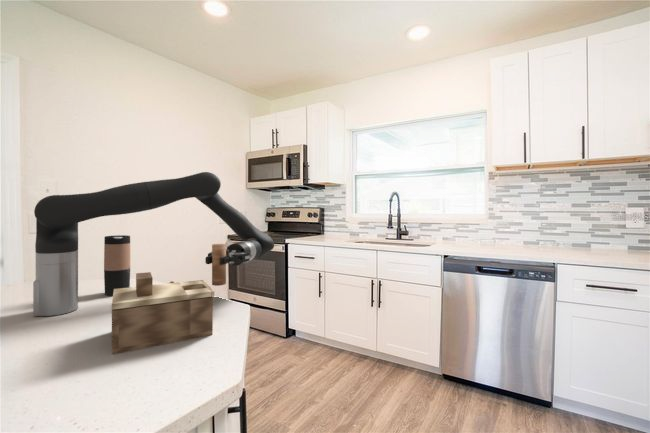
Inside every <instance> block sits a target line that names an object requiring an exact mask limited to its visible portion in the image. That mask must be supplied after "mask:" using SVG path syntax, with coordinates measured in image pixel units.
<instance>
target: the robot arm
mask: <svg viewBox="0 0 650 433" xmlns="http://www.w3.org/2000/svg"><path fill="white" fill-rule="evenodd" d="M220 189H221V180H220V178H219V177H218V176H217V175H216V174H215V173H212V172H209V171H202V172H198V173H194V174H192V175H191V174H190V175H186V176H183V177H178V178H169V179H168V178H167V179H159V180H150V181H141V182H134V183H128V184H123V185H119V186H114V187H110V188H106V189H103V190H100V191H99V190H98V191H95V192H87V193H78V194H77V193H75V194H53V195H48V196H45V197H42V198H41V199H40V200H39V201H38V202H37V203H36V205H35V207H34V211H33V213H34V217H35V219H36V222H35V223H36V224H35V225H36V227H35V230H36V231H35V232H36V234H35V235H36V236H35V243H34V244H35V246H34V247H35V280H34V281H33V286H32V287H33V288H32V290H33V291H32V292H33V293H32V295H33V296H32V298H33V300H32V301H33V302H32V303H33V304H32V307H33V308H32V310H33V313H32V314H33V315H32V317H49V316H59V315H64V314H67V313H72V312H74V311H76V310H78V308H79V223H81V222H84V221H89V220H93V219H96V218H101V217H108V216H110V217H111V216H117V215H118V216H119V215H128V214H135V213H141V212H146V211H149V210H151V211H152V210H154V209H158V208H161V207H162V208H163V207H164V206H167V205H170V204H172V203H176V202H179V201H181V200H185V199H190V198H191V199H193V198H195V199H196V200H198V201H199V202H200V203H202V204H203V205H204V206H206V207H207V208H208V209H209V210H211V211H212V212H213V213H214V214H215V215H217V216H218V217H219V219H221V220H222V221H223V222H224V223H225V224H226V225H227V226H228V227H229V228H230V229H231V231H233V232H234V233H235V235H236V236H237V237H238V238H240V239H241V240H242V241H240V242H234V243H231V244H230V245H228V246H226V256H224V257H221V258H220V265H224V264H226V265H227V264H230V265H232V266H241V265H243V264H246V263H248V262H250V261H252V260H259V259H261V258H262V257H263V256H266V255H267V254H268V253H269V252H271V251H272V250H273V249H274V248H275V242H274V240H273V238H272V237H271V236H270V235H269V234H267V233H265V232H264V231H262V230H260V229H259V228H257V227H256V226H255V225H253V224H252V222H251V221H250V220H249V219H248V218H247V217H246V216H245V215H244V214H243V213H242V212H240V211H239V210H238V209H236V208H234V207H233V206H232V205H230V204H229V203H227V201H226V200H225V199H223V198H222V196H221V195H220V194H219V191H220ZM251 239H253V240H251ZM204 262H205V265H212V251H210V252H209V253H207V256H205V261H204Z"/></svg>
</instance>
